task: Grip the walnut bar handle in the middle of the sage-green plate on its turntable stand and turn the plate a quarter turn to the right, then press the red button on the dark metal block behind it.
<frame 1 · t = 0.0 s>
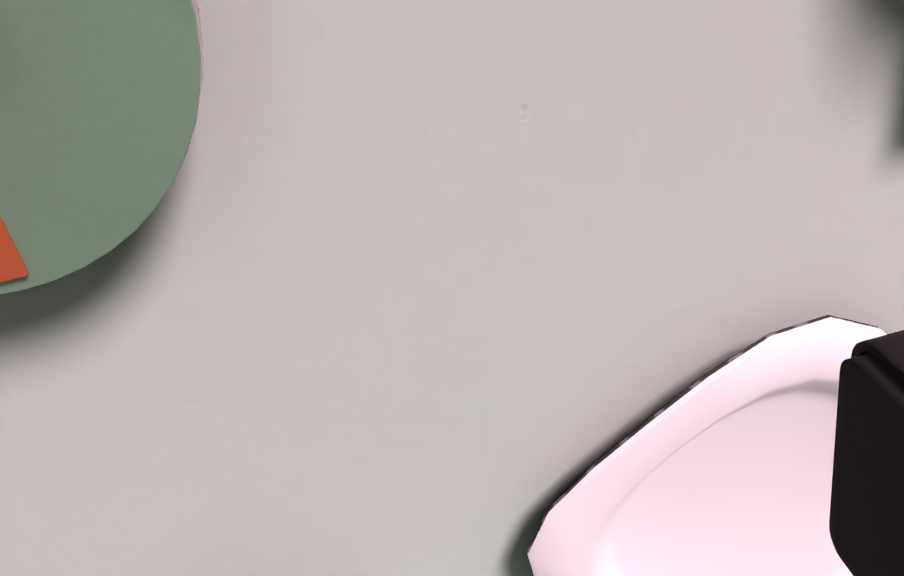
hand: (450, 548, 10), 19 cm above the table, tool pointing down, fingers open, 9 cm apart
plate: (749, 501, 39), on the table
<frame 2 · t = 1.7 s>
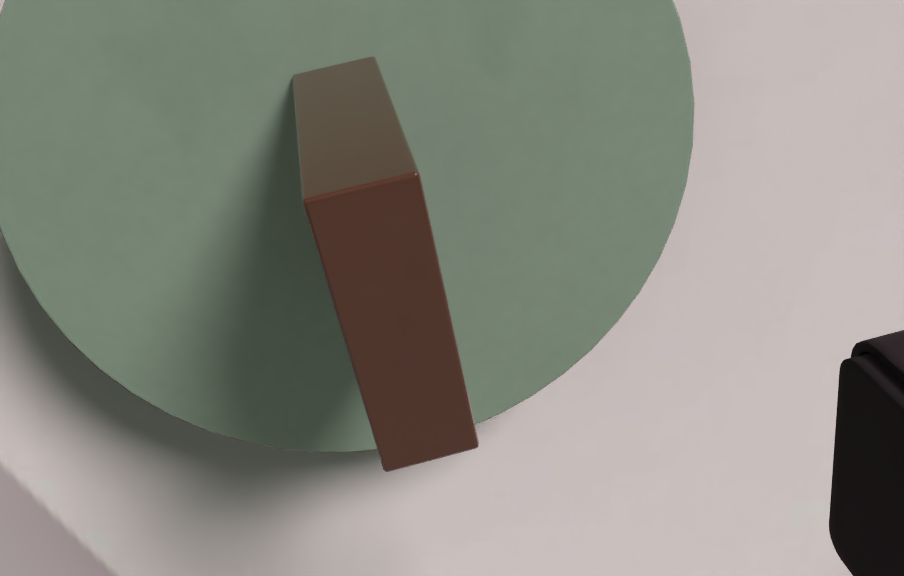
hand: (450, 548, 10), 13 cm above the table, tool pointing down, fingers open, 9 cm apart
turntable plate: (376, 236, 15), point 5 cm above the table, hinge at 0.0°
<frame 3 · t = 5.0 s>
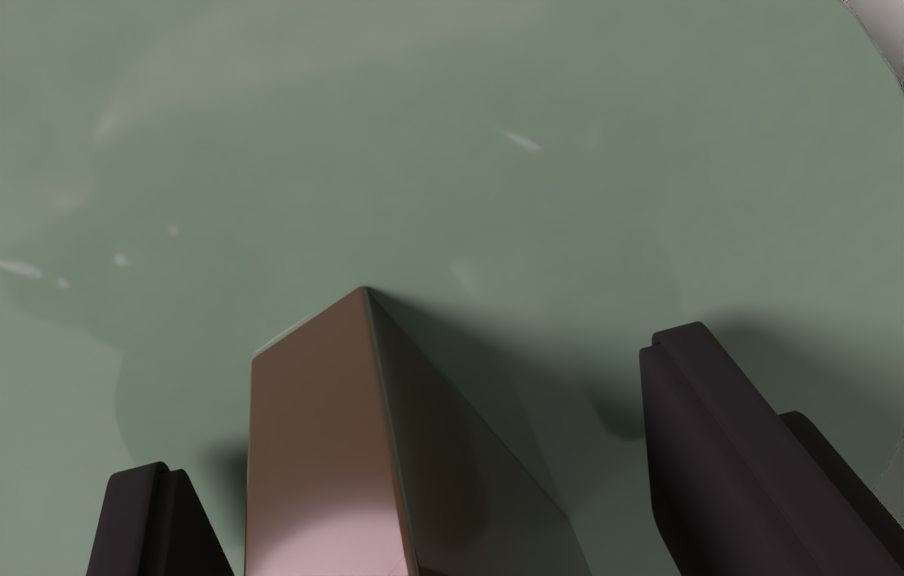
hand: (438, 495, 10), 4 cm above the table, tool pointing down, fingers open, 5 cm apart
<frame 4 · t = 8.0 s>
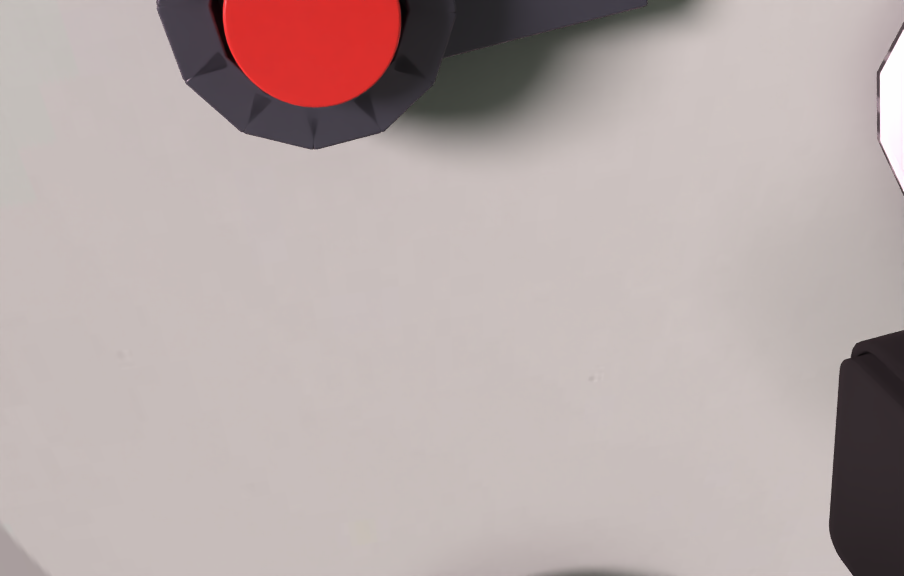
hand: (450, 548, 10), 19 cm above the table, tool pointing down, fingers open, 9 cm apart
button: (312, 14, 20), point 4 cm above the table, slide at 0.1 cm
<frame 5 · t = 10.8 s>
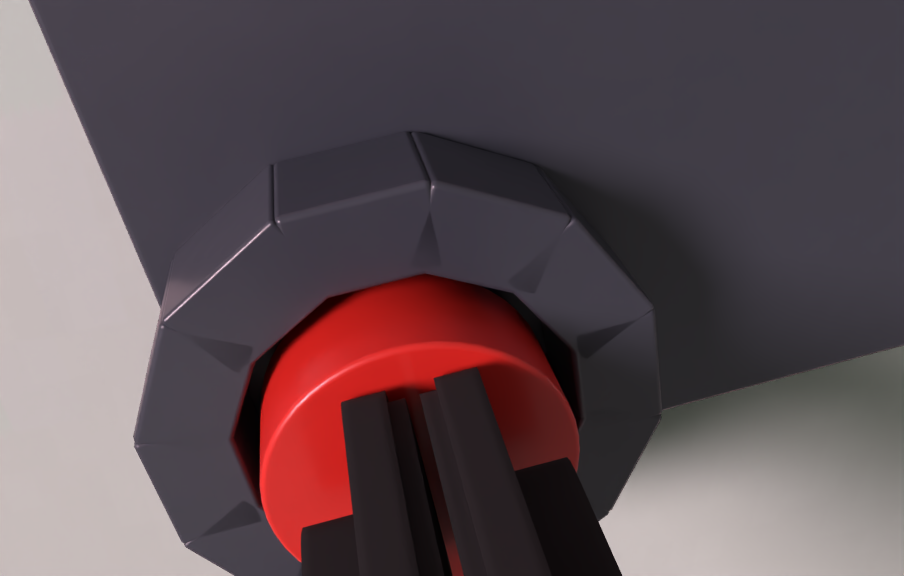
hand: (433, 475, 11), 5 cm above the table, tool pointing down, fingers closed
button: (415, 435, 11), point 4 cm above the table, slide at -0.3 cm, touching gripper
button block: (532, 135, 14), on the table
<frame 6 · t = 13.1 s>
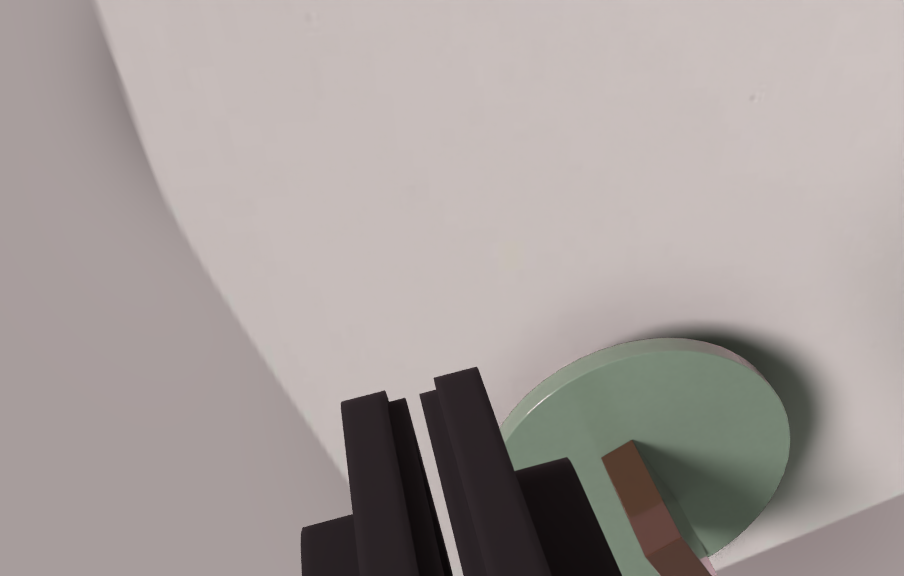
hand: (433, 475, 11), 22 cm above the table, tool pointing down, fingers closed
turntable plate: (659, 518, 37), point 5 cm above the table, hinge at -66.8°
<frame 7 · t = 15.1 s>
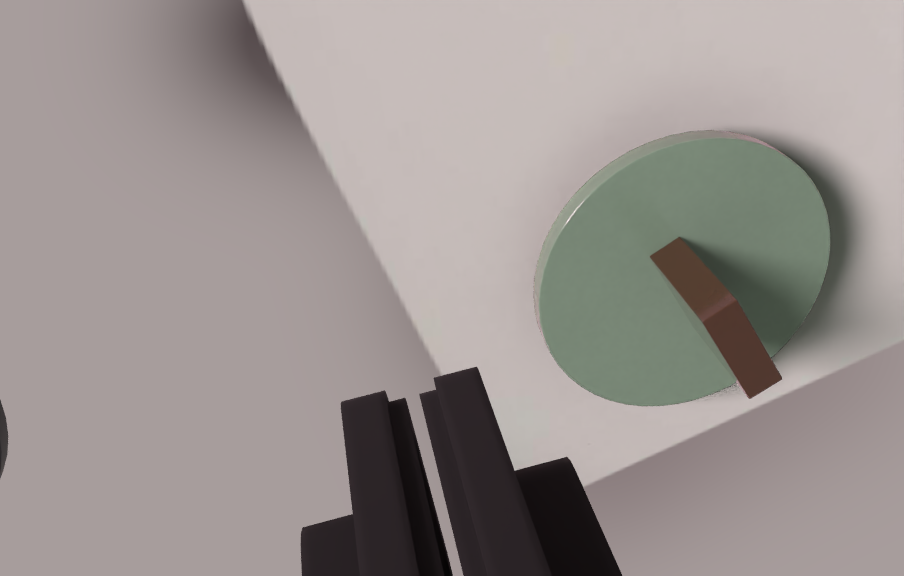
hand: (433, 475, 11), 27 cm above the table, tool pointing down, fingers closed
turntable plate: (708, 309, 38), point 5 cm above the table, hinge at -66.8°
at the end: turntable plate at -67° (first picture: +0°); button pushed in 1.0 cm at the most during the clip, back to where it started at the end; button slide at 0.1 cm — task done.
